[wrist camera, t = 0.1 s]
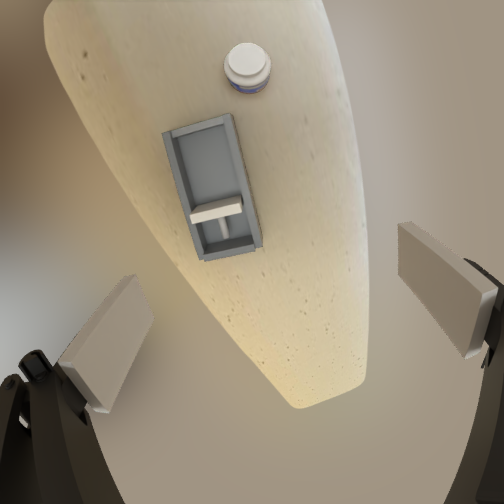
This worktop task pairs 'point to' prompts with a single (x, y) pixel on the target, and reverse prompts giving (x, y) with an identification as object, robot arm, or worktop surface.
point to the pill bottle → (247, 67)
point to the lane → (213, 185)
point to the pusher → (218, 212)
